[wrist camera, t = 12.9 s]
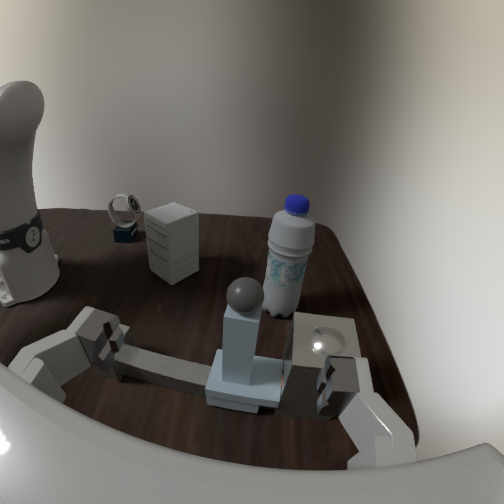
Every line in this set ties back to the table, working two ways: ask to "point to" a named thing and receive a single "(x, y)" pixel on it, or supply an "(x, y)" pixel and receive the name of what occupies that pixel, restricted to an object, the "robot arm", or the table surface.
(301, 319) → the grey slide rail
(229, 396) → the ball-topped pillar
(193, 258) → the supplement box
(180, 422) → the table surface
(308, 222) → the bottle
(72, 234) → the table surface
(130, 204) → the watch
